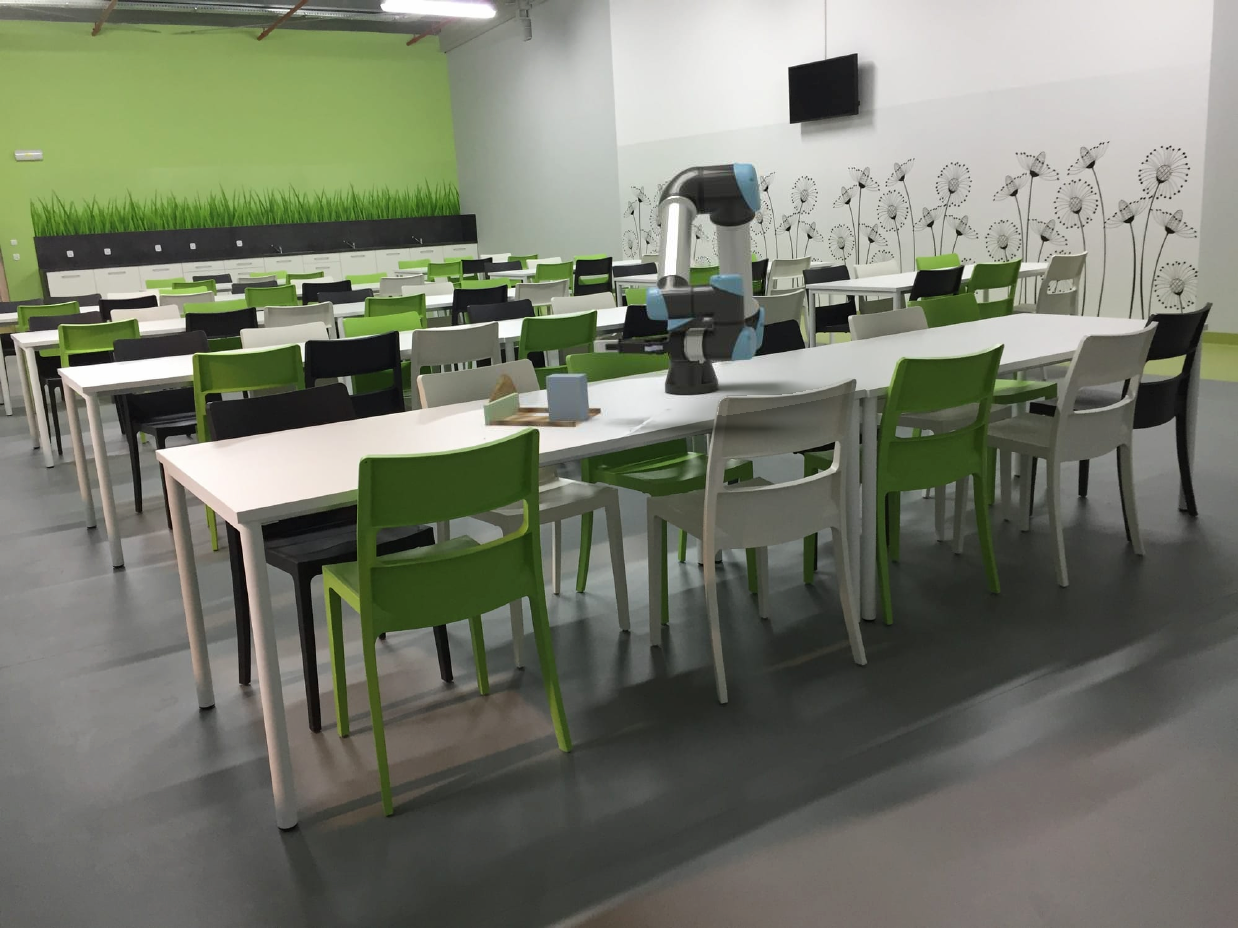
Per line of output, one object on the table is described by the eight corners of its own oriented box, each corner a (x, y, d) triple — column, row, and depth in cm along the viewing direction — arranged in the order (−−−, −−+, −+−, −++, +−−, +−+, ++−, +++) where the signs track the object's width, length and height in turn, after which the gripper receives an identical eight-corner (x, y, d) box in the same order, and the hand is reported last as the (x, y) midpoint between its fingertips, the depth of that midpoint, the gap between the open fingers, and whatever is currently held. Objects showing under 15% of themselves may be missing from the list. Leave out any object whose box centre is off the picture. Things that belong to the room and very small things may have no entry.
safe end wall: (520, 415, 262) (518, 392, 260) (490, 429, 247) (487, 405, 245) (516, 415, 262) (514, 392, 261) (485, 429, 247) (483, 405, 246)
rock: (530, 403, 265) (525, 392, 274) (509, 381, 261) (504, 370, 270) (499, 430, 266) (495, 418, 275) (478, 407, 262) (474, 396, 271)
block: (589, 417, 248) (586, 373, 245) (582, 421, 244) (579, 377, 241) (556, 417, 251) (553, 374, 248) (549, 420, 247) (545, 377, 244)
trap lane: (601, 416, 253) (600, 408, 253) (574, 430, 238) (574, 421, 238) (520, 415, 262) (519, 407, 261) (490, 429, 247) (489, 420, 246)
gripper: (680, 365, 225) (585, 366, 234) (697, 357, 237) (606, 358, 246) (679, 331, 224) (583, 334, 232) (696, 325, 235) (604, 327, 244)
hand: (595, 346), depth 239 cm, fingers closed
